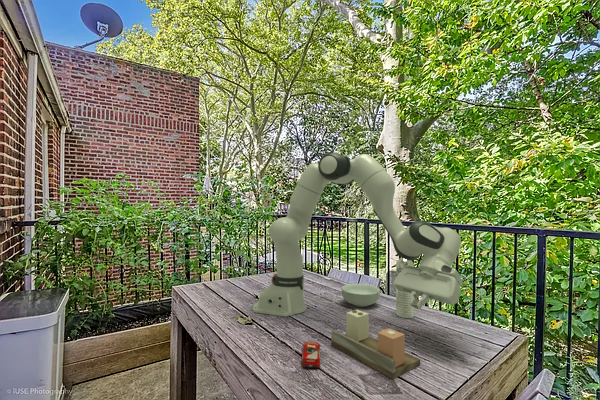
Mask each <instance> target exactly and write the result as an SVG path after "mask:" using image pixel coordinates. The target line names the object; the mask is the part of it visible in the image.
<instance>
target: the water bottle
mask: <svg viewBox="0 0 600 400" xmlns="http://www.w3.org/2000/svg"><path fill="white" fill-rule="evenodd" d="M408 266H412V267H415V264H414V262H413V260H406V259H403V258H402V257H400V258H398V260H397V261H396V263H395V268H396V270H395V271H396V277H397V276H398V274H399V273H400V272H401V271H402V269H403V268H405V267H408ZM396 277H395V278H396ZM395 291H396V292H395V298H396V299H395V311H396V312H395V313H396V315H397V316H398V317H399V318H402V319H406V320H407V319H412V318H414V316H415V307H412V306H411V305H410V302H411V300H412V296H411V293H407V292H404V291H400V290H398V289H397V288H396V287H395Z"/></svg>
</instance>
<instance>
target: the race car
mask: <svg viewBox="0 0 600 400" xmlns="http://www.w3.org/2000/svg"><path fill="white" fill-rule="evenodd" d="M321 346H322V345H321V343H319V342H318V341H314V340H309V341H304V343H303V344H302V356H301V366H302V367H303V368H307V369H308V368H309V369H310V368H314V369H317V368H320V367H321Z"/></svg>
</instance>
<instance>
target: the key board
mask: <svg viewBox="0 0 600 400" xmlns="http://www.w3.org/2000/svg"><path fill="white" fill-rule="evenodd" d="M330 335H331V341H330V342H331V343H330V344H331V346H332V347H334V348H336V349H337V350H340V351H341V352H343V353H345V354H347V355H348V356H351V357H352V358H354V359H356V360H358V361H359V362H361V363H362V364H365V365H366V366H368V367H370V368H371V369H374V370H375V371H377V372H379V373H380V374H382V375H384V376H386V377H388V378H390V379H392V380H395V379H396V378H398V377H400V376H402V375H404V374H406V373H408V372H409V371H412V370H413V369H415V368H417V367H419V366H420V365H421V359H420V358H418V357H416V356H414V355H411V354H410V353H407V352H405V363H403V364H401V365H399V366H397V367H395V360H394V359H392V358H390V357H388V356H386V355H384V354H382V353H380V352H378V339H376V338H374V337H372V336H370V335H369V338H367V339H364V340H361V341H356V340H353V339H351V338H349V337H347V336H346V334H343V333H341V332H340V331H337V330H336V329H333V330H331V334H330Z"/></svg>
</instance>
